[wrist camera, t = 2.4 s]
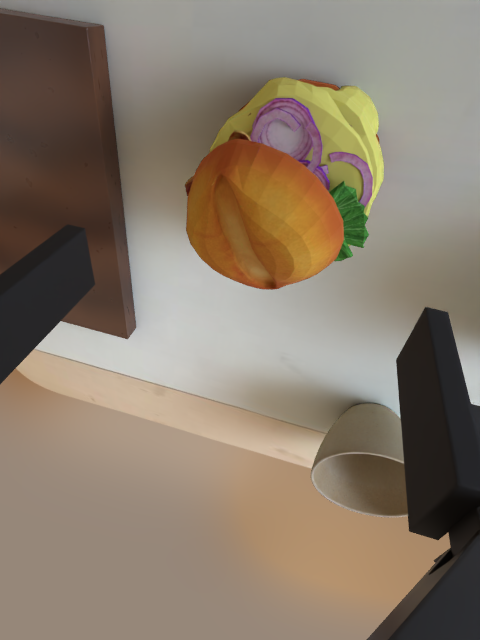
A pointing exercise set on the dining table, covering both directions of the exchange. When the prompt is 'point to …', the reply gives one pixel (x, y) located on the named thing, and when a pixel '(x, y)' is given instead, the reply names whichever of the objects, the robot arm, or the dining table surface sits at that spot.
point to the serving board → (63, 157)
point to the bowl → (363, 462)
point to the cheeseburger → (287, 184)
